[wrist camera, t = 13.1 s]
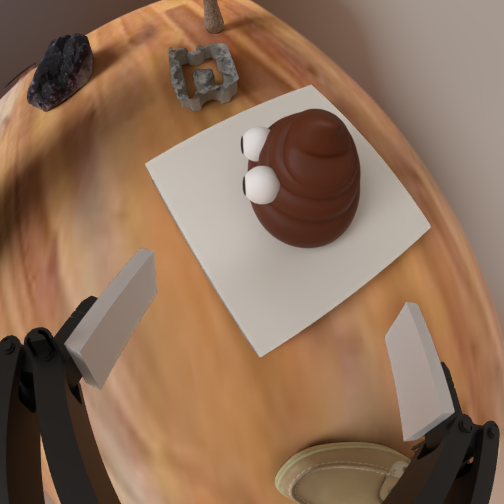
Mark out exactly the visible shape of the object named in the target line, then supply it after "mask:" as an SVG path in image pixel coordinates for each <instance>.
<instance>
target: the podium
mask: <svg viewBox="0 0 504 504" xmlns="http://www.w3.org/2000/svg"><path fill="white" fill-rule="evenodd" d="M307 109H323V110H326V111H329V112H331V113H333V114H335V115H336V116H337V117H339V118H340V119H341V120H342V121H343V122H344V124H345V125H346V127H347V129H348V131H349V132H350V134H351V136H352V138H353V140H354V142H355V145H356V148H357V153H358V156H359V161H360V169H361V177H360V198H359V204H358V208H357V211H356V214H355V216H354V218H353V220H352V222H351V224H350V226H349V227H348V228H347V230H346V231H345V232H344V233H343V234H342V235H341V236H340V237H339V238H338V239H336V240H335V241H333V242H331V243H329V244H327V245H325V246H321V247H317V248H299V247H294V246H291V245H288V244H285V243H283V242H281V241H279V240H278V239H276V238H275V237H274V236H272V235H271V234H270V233H269V232H268V231H267V230H266V229H265V228H264V227H263V225H262V224H261V223H260V221H259V220H258V218H257V216H256V214H255V212H254V210H253V208H252V205H251V202H250V200H249V199H248V198H247V197H246V196H245V195H244V192H243V177H244V176H245V175H246V174H247V173H248V161H249V159H248V158H247V157H246V156H245V155H244V154H242V151H241V137H242V136H243V135H244V133H245V132H246V131H247V130H249V129H250V128H253V127H256V126H262V127H266V128H269V127H270V126H271V125H272V124H273V123H275V122H276V121H278V120H280V119H282V118H284V117H286V116H289V115H292V114H295V113H299V112H302V111H305V110H307ZM145 165H146V167H147V169H148V171H149V173H150V175H151V177H152V178H153V180H152V181H153V183H154V185H155V186H156V188H157V190H158V192H159V194H160V196H161V198H162V199H163V201H164V203H165V205H166V207H167V209H168V210H169V212H170V214H171V216H172V218H173V219H174V221H175V223H176V225H177V226H178V228H179V230H180V232H181V234H182V235H183V237H184V239H185V241H186V242H187V244H188V246H189V247H190V249H191V251H192V253H193V254H194V256H195V258H196V259H197V261H198V263H199V264H200V266H201V268H202V269H203V271H204V273H205V274H206V276H207V278H208V279H209V281H210V283H211V284H212V286H213V288H214V289H215V291H216V292H217V294H218V296H219V297H220V299H221V301H222V302H223V304H224V305H225V307H226V308H227V310H228V312H229V313H230V315H231V316H232V318H233V320H234V321H235V323H236V324H237V326H238V327H239V329H240V330H241V332H242V333H243V335H244V336H245V338H246V340H247V341H248V343H249V344H250V346H251V347H252V349H253V350H254V352H255V353H256V355H257V356H259V357H262V356H264V355H265V354H267V353H268V352H270V351H272V350H273V349H275V348H276V347H278V346H279V345H281V344H282V343H284V342H286V341H287V340H289V339H290V338H292V337H293V336H295V335H296V334H298V333H299V332H301V331H302V330H303V329H305V328H306V327H308V326H309V325H311V324H312V323H314V322H315V321H316V320H318V319H319V318H321V317H322V316H323V315H325V314H326V313H328V312H329V311H330V310H332V309H333V308H334V307H336V306H337V305H339V304H340V303H341V302H343V301H344V300H345V299H347V298H348V297H349V296H350V295H352V294H353V293H354V292H356V291H357V290H358V289H360V288H361V287H362V286H363V285H365V284H366V283H367V282H368V281H370V280H371V279H372V278H373V277H375V276H376V275H377V274H378V273H380V272H381V271H382V270H383V269H384V268H386V267H387V266H388V265H389V264H390V263H392V262H393V261H394V260H395V259H396V258H397V257H399V256H400V255H401V254H402V253H403V252H404V251H405V250H407V249H408V248H409V247H410V246H411V245H412V244H413V243H414V242H416V241H417V240H418V239H419V238H420V237H421V236H422V235H423V234H424V233H425V232H426V231H428V230H429V229H430V228H431V225H430V224H429V222H428V221H427V219H426V218H425V216H424V215H423V213H422V212H421V210H420V209H419V207H418V206H417V204H416V203H415V201H414V200H413V198H412V197H411V196H410V194H409V193H408V191H407V190H406V189H405V187H404V186H403V185H402V183H401V182H400V181H399V179H398V178H397V177H396V175H395V174H394V173H393V171H392V170H391V169H390V168H389V166H388V165H387V164H386V163H385V161H384V160H383V159H382V158H381V157H380V155H379V154H378V153H377V152H376V151H375V149H374V148H373V147H372V146H371V145H370V144H369V143H368V141H367V140H366V139H365V138H364V137H363V136H362V135H361V134H360V132H359V131H358V130H357V129H356V128H355V127H354V126H353V125H352V124H351V123H350V122H349V121H348V120H347V119H346V118H345V117H344V116H343V114H342V113H341V112H340V111H339V110H338V109H337V108H336V107H335V106H334V105H332V104H331V103H330V102H329V101H328V100H327V99H326V98H325V97H324V96H323V95H322V94H321V93H320V92H319V91H318V90H317V89H315V88H314V87H313V86H312V85H309V86H306V87H303V88H300V89H297V90H295V91H292V92H289V93H287V94H284V95H281V96H279V97H276V98H274V99H271V100H269V101H266V102H264V103H261V104H259V105H257V106H254V107H252V108H250V109H247V110H245V111H243V112H241V113H238V114H236V115H234V116H232V117H230V118H228V119H226V120H224V121H221V122H219V123H217V124H215V125H213V126H211V127H209V128H207V129H205V130H203V131H202V132H200V133H198V134H196V135H194V136H192V137H190V138H188V139H186V140H185V141H183V142H181V143H179V144H177V145H176V146H174V147H172V148H170V149H169V150H167V151H165V152H164V153H162V154H160V155H158V156H157V157H155V158H154V159H152V160H150V161H149V162H147V163H145Z"/></svg>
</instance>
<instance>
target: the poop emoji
mask: <svg viewBox="0 0 504 504" xmlns="http://www.w3.org/2000/svg"><path fill="white" fill-rule="evenodd" d="M241 151H242V154H244V155H245V156H246V157H247V158H248V159H249V161H248V173H247V174H246V175H245V176H244V177H243V192H244V195H245V196H246V197H247V198H248V199H249V200H250V202H251V205H252V208H253V210H254V212H255V214H256V216H257V218H258V220H259V221H260V223H261V224H262V225H263V227H264V228H265V229H266V230H267V231H268V232H269V233H270V234H271V235H272V236H274V237H275V238H276V239H278V240H279V241H281V242H283V243H285V244H288V245H291V246H294V247H299V248H317V247H321V246H325V245H327V244H329V243H331V242H333V241H335V240H336V239H338V238H339V237H340V236H341V235H342V234H343V233H344V232H345V231H346V230H347V228H348V227H349V226H350V224H351V222H352V220H353V218H354V216H355V214H356V211H357V208H358V204H359V198H360V177H361V169H360V161H359V156H358V153H357V148H356V145H355V142H354V140H353V138H352V136H351V134H350V132H349V131H348V129H347V127H346V125H345V124H344V122H343V121H342V120H341V119H340V118H339V117H337V116H336V115H335V114H333V113H331V112H329V111H326V110H323V109H307V110H305V111H302V112H299V113H295V114H292V115H289V116H286V117H284V118H282V119H280V120H278V121H276V122H275V123H273V124H272V125H271V126H270V127H269V128H266V127H262V126H256V127H253V128H250V129H249V130H247V131H246V132H245V133H244V135H243V136H242V137H241Z"/></svg>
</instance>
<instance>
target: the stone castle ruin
mask: <svg viewBox="0 0 504 504" xmlns="http://www.w3.org/2000/svg"><path fill="white" fill-rule="evenodd" d="M208 58H213V59H215V60H216V63H217V70H218V71H219V72H221V73H222V75H223V84H221V85H216V86H215V81H214V75H213V71H212V70H211V69H196V70H195V71H194V72H193V74H192V77H193V78H194V82H195V86H196V90H197V91H196V92H195V97H194V98H193V99H189V97H188V91H187V87H186V83H185V79H184V76H183V72H182V68H181V65H184V64H189V65H191V66H197V65H200V64H202V63H203V62H204V61H205V59H208ZM169 62H170V74H171V84H172V86H173V89H174V91H175V93H176V95H177V99H178V100H180V102H181V106H182V108H190V109H191V110H193V111H198V110H201V109H202V105H203V104H204V103H205V102H206V101H209V100H217V101H219V102H221V103H222V104H224V103H228V102H230V101H231V97H232V96H233V95H235V94H237V93H238V88H237V80H238V79H239V76H238V74H237V71H236V68H235V65H234V61H233V60H232V57H231V55H230V52H229V49H228V47H227V45H226V44H225V43H218V44H209V45H208V46H205V47H201V46H198V47H197V50H196V51H192V52H189V53H188V51H187V50H186V48H179V49H176V50H172V48H169Z"/></svg>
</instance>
